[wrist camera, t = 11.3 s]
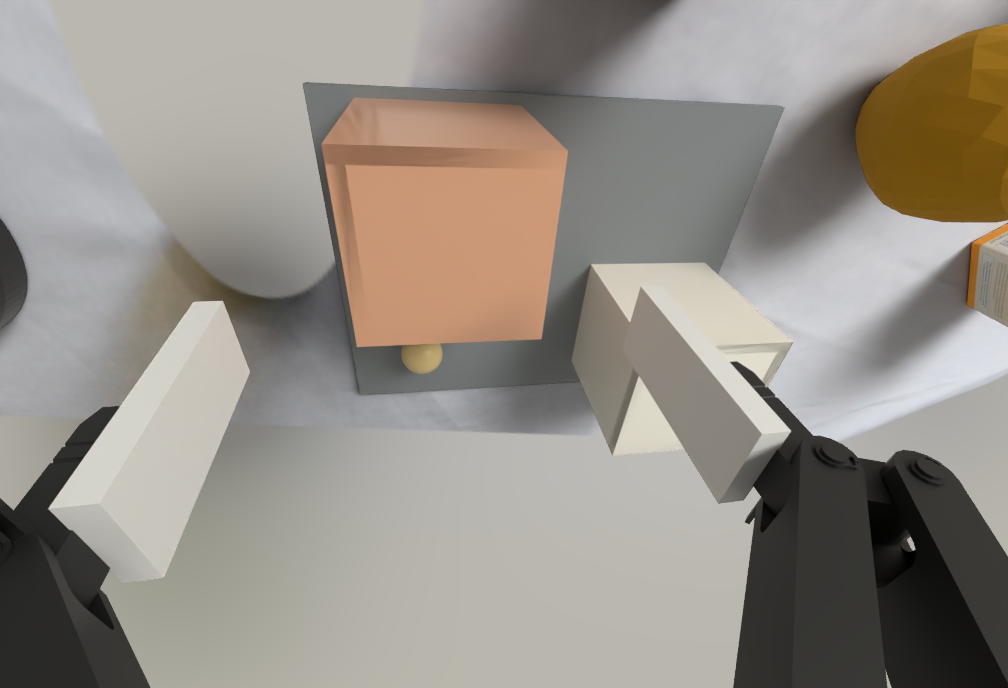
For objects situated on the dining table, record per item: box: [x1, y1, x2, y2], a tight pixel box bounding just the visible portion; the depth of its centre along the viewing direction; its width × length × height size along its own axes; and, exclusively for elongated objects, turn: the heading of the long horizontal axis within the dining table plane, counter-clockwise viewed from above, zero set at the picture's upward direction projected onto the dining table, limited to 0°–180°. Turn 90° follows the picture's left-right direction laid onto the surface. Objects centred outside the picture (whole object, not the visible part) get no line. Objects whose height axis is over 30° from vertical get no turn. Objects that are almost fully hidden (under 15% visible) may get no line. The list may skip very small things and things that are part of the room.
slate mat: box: [303, 82, 785, 395], centre depth 32 cm, size 28×22×1 cm
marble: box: [401, 344, 443, 374], centre depth 32 cm, size 3×3×3 cm
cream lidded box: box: [572, 263, 793, 456], centre depth 31 cm, size 9×9×10 cm
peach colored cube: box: [321, 97, 568, 347], centre depth 23 cm, size 9×9×10 cm
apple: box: [855, 24, 1008, 222], centre depth 24 cm, size 10×10×12 cm
